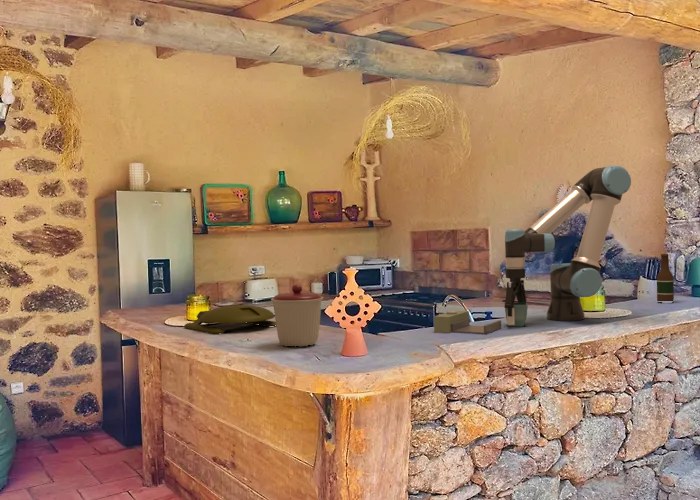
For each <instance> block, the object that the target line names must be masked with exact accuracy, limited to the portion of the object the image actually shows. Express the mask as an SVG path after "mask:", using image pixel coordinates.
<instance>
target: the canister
mask: <svg viewBox="0 0 700 500" xmlns="http://www.w3.org/2000/svg"><path fill="white" fill-rule="evenodd" d="M302 290H303V286H302V285H300V284H294V285H293V286H292V287H291V291H292V292H285V293H284V292H283V293H279V294H276V295H275V296H273V297H272V298H271V299H270V300H271V301H272V305H273V310H274V313H273V314H274V319H275V322H276V327H275V328H276V332H277V338H278V342H279V343H280V344H281V345H282V346H283V345H284V347H287V346H295V347H294V348H297V347H296V346H306V347H309V346H308V345H311V346H313V344H314V345H315V344H316V343H317V342H318V339H319V334H320V333H319V331H320V324H321V312H322V301H323V300H324V296H321V295H320V294H318V293H315V292H305V291H302Z"/></svg>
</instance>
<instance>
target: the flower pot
mask: <svg viewBox="0 0 700 500" xmlns="http://www.w3.org/2000/svg"><path fill="white" fill-rule="evenodd" d="M503 304H504V305H505V302H504V303H503ZM528 307H529V306H528V302H527V303H525V302H522V303H521V302H518V301H517V302H515V301H514V306H513V308H514V322H515V325H508V326H509V327H518V328H519V327H521V328H522V327H524V325H525V324H526V321H527V316H528ZM504 312H505V319H506V320H507V308H505V307H504Z"/></svg>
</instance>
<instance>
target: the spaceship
mask: <svg viewBox="0 0 700 500" xmlns="http://www.w3.org/2000/svg"><path fill="white" fill-rule="evenodd" d="M271 319H275V313H273V312H272V310H269V309H267V308H265V307H262V306H256V305H247V304H246V305H244V304H238V305H236V304H234V305H233V304H232V305H226V306H220V307H216V308H213V309H211V310H201V311H199V312H198V314H197V315H196V319H195V320H194V321H193V322H188V323H187V322H186V323H185V324H184V328H185V329H186V328H187V329H188V330H191V329H193V330H192V331H196V330H197V332H201V331H202V333H206V332H207V333H206V334H211V333H212V334H211V335H220V334H219V333H223V334H224V333H225V329H224V328H221V327H216V326H215V327H214V326H211V325H210V324H240V323H241V324H248V323H253V324H259V325H265V326H275V325H276V321H273V320H271ZM245 322H247V323H245ZM204 324H205V325H204ZM253 324H252V325H253ZM259 325H258V326H259ZM265 326H264V327H265Z"/></svg>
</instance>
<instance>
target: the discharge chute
mask: <svg viewBox="0 0 700 500" xmlns="http://www.w3.org/2000/svg"><path fill="white" fill-rule="evenodd" d="M470 323H471V322H470V318H469V319H465V320H462V321H458V322H455V323H452V324H451V333H453V334H454V333H457V334H458V333H459V334H471V333H472V335H489V334H491V333H494V332H497V331H499V330H501V329H502V320H500V319H499V320H495V321H492V322H490V323H487V324H484V325H473V324H472V325H470Z"/></svg>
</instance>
